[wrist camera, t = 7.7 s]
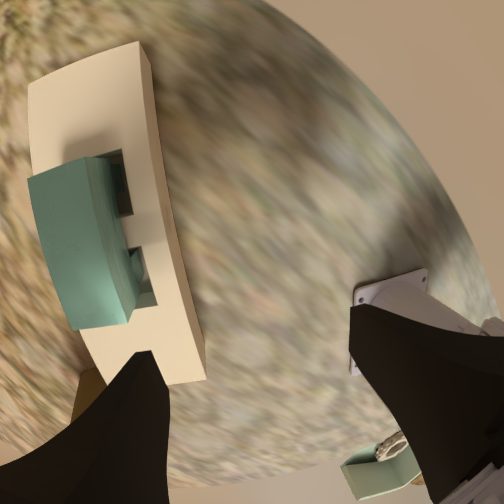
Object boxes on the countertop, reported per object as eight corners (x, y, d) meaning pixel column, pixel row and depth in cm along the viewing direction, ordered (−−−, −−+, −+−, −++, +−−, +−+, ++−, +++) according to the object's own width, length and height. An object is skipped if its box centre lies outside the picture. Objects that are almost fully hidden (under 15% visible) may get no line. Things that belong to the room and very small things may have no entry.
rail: (204, 344, 20) (207, 379, 16) (121, 356, 19) (109, 389, 15) (150, 65, 14) (138, 40, 10) (57, 97, 13) (28, 84, 9)
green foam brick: (148, 276, 16) (128, 323, 11) (105, 284, 16) (72, 330, 10) (122, 159, 14) (84, 156, 9) (77, 173, 13) (27, 178, 8)
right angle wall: (429, 416, 33) (452, 443, 26) (384, 460, 35) (401, 488, 28) (390, 417, 30) (417, 453, 22) (339, 466, 32) (356, 501, 25)
